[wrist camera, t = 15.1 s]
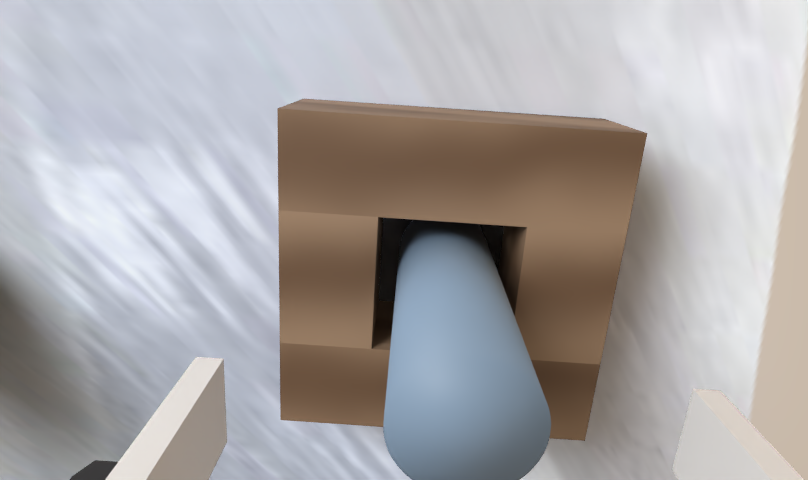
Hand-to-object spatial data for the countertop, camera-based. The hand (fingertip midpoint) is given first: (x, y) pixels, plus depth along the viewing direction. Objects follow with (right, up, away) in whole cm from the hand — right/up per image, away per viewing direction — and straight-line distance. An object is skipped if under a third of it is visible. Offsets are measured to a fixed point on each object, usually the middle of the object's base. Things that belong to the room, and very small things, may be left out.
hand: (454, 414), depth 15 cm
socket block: (0, +4, +12) cm, 13 cm away
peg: (+1, +4, +12) cm, 13 cm away
